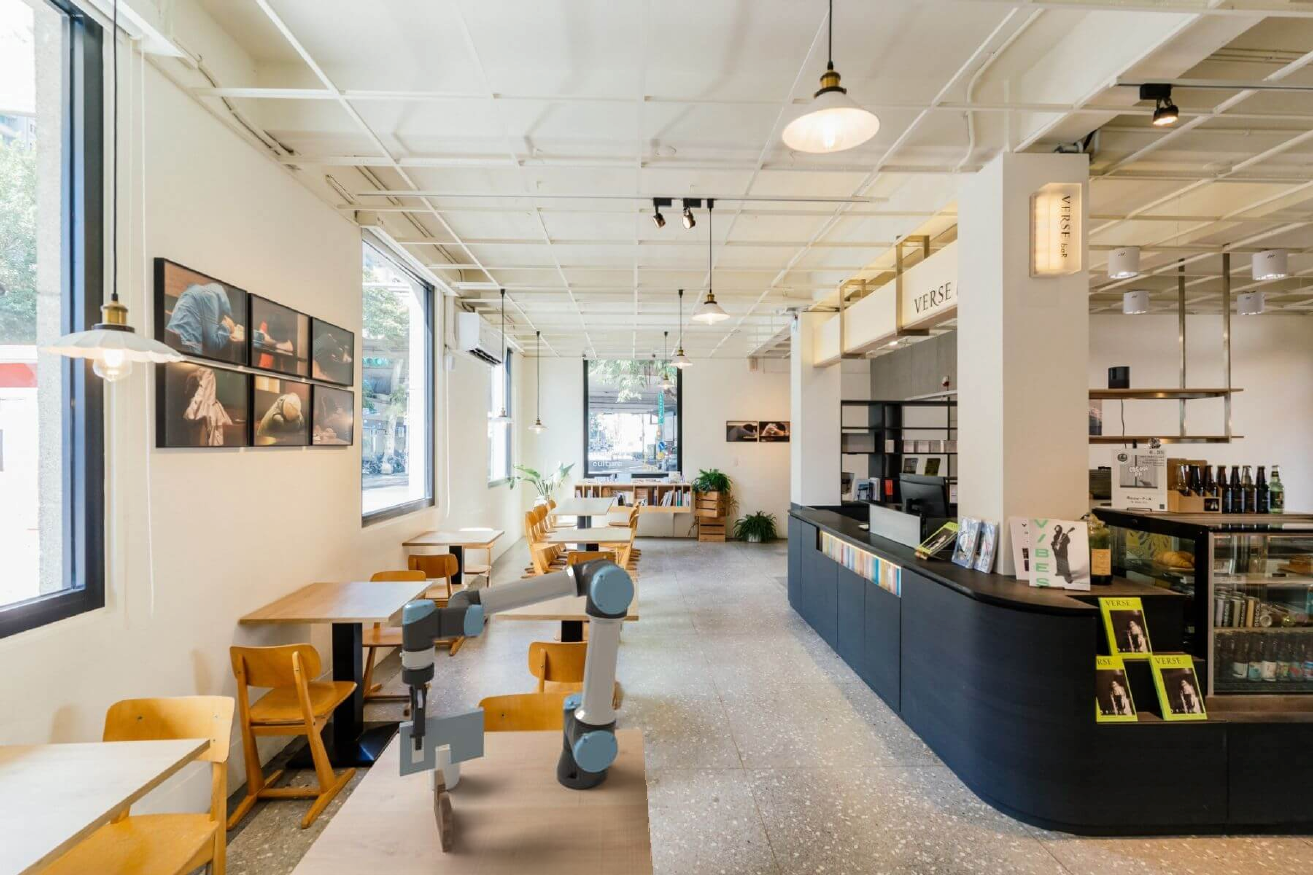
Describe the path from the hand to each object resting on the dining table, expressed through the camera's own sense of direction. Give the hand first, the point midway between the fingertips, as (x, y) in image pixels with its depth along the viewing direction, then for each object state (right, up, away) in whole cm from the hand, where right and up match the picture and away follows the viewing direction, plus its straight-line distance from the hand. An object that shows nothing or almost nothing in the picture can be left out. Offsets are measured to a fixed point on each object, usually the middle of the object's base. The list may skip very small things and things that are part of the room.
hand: (417, 757), depth 142 cm
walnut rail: (+5, -19, +3) cm, 20 cm away
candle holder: (-1, -20, +22) cm, 29 cm away
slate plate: (+5, -3, +3) cm, 7 cm away
